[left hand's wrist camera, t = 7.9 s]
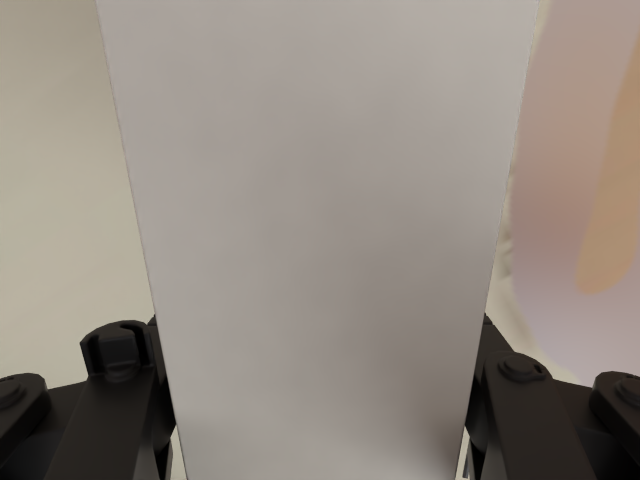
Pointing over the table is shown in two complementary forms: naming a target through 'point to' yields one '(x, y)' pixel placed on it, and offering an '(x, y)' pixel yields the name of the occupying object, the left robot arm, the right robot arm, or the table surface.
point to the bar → (318, 220)
